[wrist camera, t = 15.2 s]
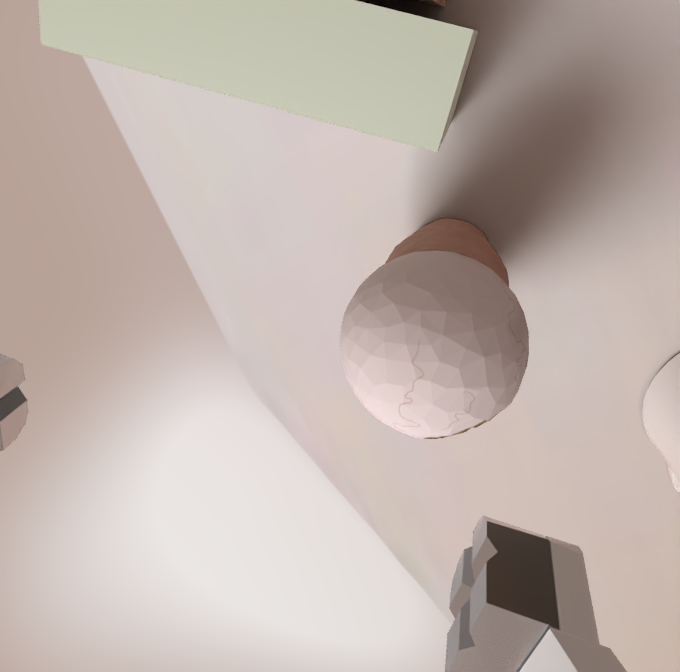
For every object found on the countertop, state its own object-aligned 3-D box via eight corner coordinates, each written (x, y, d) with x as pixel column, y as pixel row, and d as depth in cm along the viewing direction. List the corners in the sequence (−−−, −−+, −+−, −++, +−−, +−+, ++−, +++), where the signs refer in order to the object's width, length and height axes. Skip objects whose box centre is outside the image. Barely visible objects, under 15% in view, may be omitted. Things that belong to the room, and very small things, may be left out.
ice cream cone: (440, 341, 49) (412, 506, 32) (356, 250, 47) (278, 374, 30) (547, 268, 44) (582, 417, 27) (458, 162, 42) (434, 250, 25)
